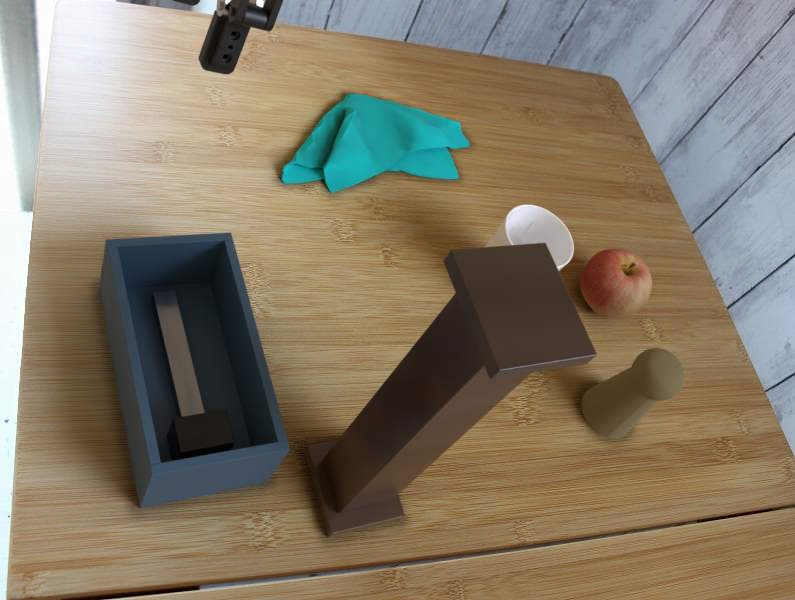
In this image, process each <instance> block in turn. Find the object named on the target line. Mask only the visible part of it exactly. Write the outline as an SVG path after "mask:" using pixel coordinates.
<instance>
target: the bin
mask: <svg viewBox="0 0 795 600" xmlns="http://www.w3.org/2000/svg"><path fill="white" fill-rule="evenodd" d="M243 274H244V273H243V271H242V268H241V263H240V259H239V257H238V252H237V249H236V244H235V241H234V238H233V235H232V232H217V233H216V232H215V233H198V234H180V235H179V234H178V235H162V236H143V237H142V236H141V237H129V238H128V237H127V238H126V237H125V238H108V239H107V238H106V239H105V243H104V250H103V257H102V263H101V270H100V277H99V284H98V292H99V299H100V303H101V308H102V313H103V314H102V315H103V320H104V324H105V330H106V335H107V340H108V346H109V352H110V356H111V363H112V367H113V373H114V378H115V384H116V390H117V396H118V399H119V405H120V410H121V415H122V421H123V426H124V432H125V437H126V443H127V449H128V453H129V459H130V464H131V471H132V475H133V481H134V485H135V491H136V492H135V493H136V497H137V502H138V508H139V509H144V508H149V507H154V506H160V505H164V504H168V503H169V504H170V503H173V502H180V501H184V500H185V501H186V500H189V499H194V498H198V497H199V498H200V497H204V496H210V495H213V494H218V493H223V492H227V491H234V490H238V489H243V488H248V487H253V486H258V485H264V484H267V483H268V482H269V480H270V479H271V477H272V476H273V475H274V473H275V472H276V470H277V469H278V468H279V466H280V465H281V464H282V462H283V460H284V459H285V458H286V456H287V455H288V454H289V452H290V450H291V448H290V443H289V440H288V435H287V432H286V429H285V425H284V422H283V417H282V415H281V411H280V407H279V404H278V403H279V402H278V399H277V396H276V391H275V389H274V386H273V381H272V377H271V374H270V370H269V367H268V363H267V359H266V356H265V353H264V348H263V344H262V341H261V338H260V337H261V336H260V333H259V330H258V326H257V323H256V320H255V319H256V318H255V316H254V311H253V308H252V304H251V299H250V298H249V297H250V296H249V293H248V291H247V286H246V282H245V279H244V275H243ZM169 290H175V292H176V296H177V300H178V304H179V308H180V312H181V316H182V320H183V325H184V329H185V333H186V337H187V341H188V345H189V349H190V353H191V357H192V361H193V366H194V370H195V374H196V378H197V382H198V386H199V390H200V394H201V398H202V403H203V407H204V411H205V413H207V412H213V411H219V410H225V409H226V410H227V413H228V417H229V421H230V425H231V429H232V433H233V437H234V441H235V443H234V445H233V447H232V449H231V451H225V452H219V453H214V454H208V455H203V456H197V457H192V458H186V459H180V460H175V461H172V457H171V453H170V448H169V444H168V439H167V433H168V430H169V428H170V425H171V422H172V420H173V418H177V413H176V408H175V404H174V399H173V395H172V391H171V386H170V382H169V377H168V373H167V369H166V364H165V360H164V356H163V351H162V347H161V342H160V338H159V334H158V329H157V325H156V320H155V316H154V312H153V307H152V303H151V297H152V293H153V292H159V291H169Z"/></svg>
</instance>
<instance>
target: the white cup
mask: <svg viewBox="0 0 795 600" xmlns="http://www.w3.org/2000/svg"><path fill="white" fill-rule="evenodd" d="M534 243H546V245H547V247H548V249H549V251H550V253H551V255H552V258H553V260H554V262H555V264H556V266H557V268H558V271H559V272H560V271H561V270H563V269H564V268H565V267H566V266H567V265H568V263H570V262H571V260H572V259H573V256H574V252H575V251H574V250H575V245H574V239H573V236H572V234H571V232H570V230H569V229H568V227H567V226H566V224H565V223H564V222H563V221H562V219H560V217H558V216H557V215H555V214H554V213H553V212H551V211H550V210H548V209H546V208H544V207H542V206H538V205H536V204H530V203H529V204H519V205H516V206H514V207H512V208H511V209H510V210H509V211H508V213H506V215H505V217H504V218H503V220H502V221H501V222H500V224H499V226H498V227H497V229H496V230H495V231H494V233H493V234H492V236H491V237H490V238H489V240H488V241H487V243H486V244H485V246H484V247H494V246H508V245H521V244H534Z"/></svg>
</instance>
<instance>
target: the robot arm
mask: <svg viewBox="0 0 795 600" xmlns="http://www.w3.org/2000/svg"><path fill="white" fill-rule="evenodd" d="M172 1H173V2H176V3H180V4H184V5H187V6H197V5H198V4H199V3H200V2H201V0H172ZM283 2H284V0H265V1H264V0H216V9H215V10H214V12H213V15H212V17H211V19H210V20H211V21H210V23H209V26H208V28H207V32H206V33H205V34H206V35H205V36H204V37H205V38H204V40H203V43H202V46H201V48H200V51H199V54H198V62H199V65H200V66H201V68H202V70H204V71H207V72H210V73H211V72H212V73H216V74H222V75H231V74H232V73H234V71H235V69H236V67H237V65H238V62H239V60H240V57H241V54H242V52H243V48H244V47H245V44H246V41H247V39H248V36H249V33H250V30H251V28H252V29H256V30H261V31H263V32H264V31H265V32H269V33H270V32H271V31H273V29H274V28H275V25H276V22H277V19H278V16H279V14H280V11H281V8H282V6H283Z"/></svg>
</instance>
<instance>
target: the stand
mask: <svg viewBox="0 0 795 600" xmlns="http://www.w3.org/2000/svg"><path fill="white" fill-rule="evenodd" d="M443 264H444V267H445V269H446V272H447V274H448V277H449V280H450V282H451V284H452V287H453V290H454V292H455V293H454V294H453V296H452V297H451V298H450V300H448V301H447V303H446V304H445V306H444V307H443V308H442V310H440V312H439V313H438V314H437V316H435V318H434V319H433V321H432V322H431V323H430V324H429V325H428V327H427V328H426V329H425V330H424V331H423V333H422V335H420V336H419V338H418V339H417V341H416V342H415V343H414V344H413V345H412V347H411V348H410V349H409V351H408V352H407V353H406V354H405V355H404V357H403V358H402V359H401V360H400V362H399V363H398V364H397V366H396V367H395V368H394V369H393V371H392V372H391V373H390V375H388V377H386V379H385V381H384V382H383V383H382V384H381V386H379V388H378V389H377V391H376V392H375V393H374V394H373V395H372V397H371V398H370V400H369V401H367V403H366V404H365V406H363V408H362V409H361V410H360V411H359V413H358V414H357V416H356V417H354V419H353V421H352V422H351V423H350V424H349V426H348V427H347V428H346V429H345V430H344V432H343V433H342V434H341V436H340V437H339V438H338V439H335V440H330V441H329V440H328V441H324V442H318V443H313V444H307V445H306V446H305V447H304V449H303V452H304V456H305V459H306V463H307V467H308V471H309V474H310V477H311V482H312V485H313V488H314V492H315V495H316V499H317V502H318V507H319V510H320V514H321V516H322V521H323V525H324V528H325V531H326V535H327V538H329V539H330V538H332V537H337V536H343V535H345V534H346V535H347V534H349V533H354V532H358V531H362V530H366V529H371V528H374V527H378V526H383V525H386V524H391V523H395V522H399V521H401V520H402V519H403V518H405V517H406V514H405V511H404V508H403V505H402V502H401V499H400V496H399V494H401V492H403V491H404V490H405V489H407V487H408V486H410V485H411V483H413V482H414V481H415V480H416V479H417V478H418V477H419V476H421V474H422V473H424V472H425V471H426V470H427V469H428V468H429V467H430V466H431V465H432V464H434V463H435V462H436V461H437V460H438V459H439V458H440V457H441V456H442V455H443V454H444V453H446V452H447V451H448V450H449V449H450V448H451V447H452V446H454V444H456V443H457V442H458V441H459V440H460V439H461V438H462V437H463V436H464V435H465V434H466V433H468V432H469V431H470V430H472V428H473V427H474V426H475V425H476V424H477V423H478V422H480V421H481V420H482V419H483V418H484V417H485V416H486V415H487V414H488V413H489V412H491V411H492V410H493V409H494V408H495V407H496V406H497V405H499V403H500V402H501V401H503V400H504V399H505V398H506V397H507V396H509V394H511V392H512V391H514V390H515V389H516V388H517V387H518V386H519V385H520V384H522V382H524V381H525V380H526V379H527V378H528V377H529V376H531V374H535V373H541V372H545V371H552V370H560V369H565V368H570V367H577V366H584V365H588V364H589V363H590V362H591V361H593V360H594V359H595V358H596V357H597V356H598V354H597V351H596V349H595V347H594V344H593V342H592V340H591V338H590V336H589V333H588V331H587V329H586V327H585V325H584V323H583V320H582V319H581V316H580V314H579V311H578V310H577V308H576V305H575V303H574V301H573V299H572V296H571V294H570V293H569V291H568V288H567V286H566V283H565V281H564V280H563V276H562V275H561V273H560V271H558V268H557V266H556V264H555V262H554V260H553V258H552V255H551V253H550V251H549V249H548V247H547V245H546V243H534V244H521V245H508V246H494V247H485V246H484V247H483V246H481V247H469V248H467V247H466V248H456V249H450V250H449V251H448V253H447V254H446V256H444V258H443Z"/></svg>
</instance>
